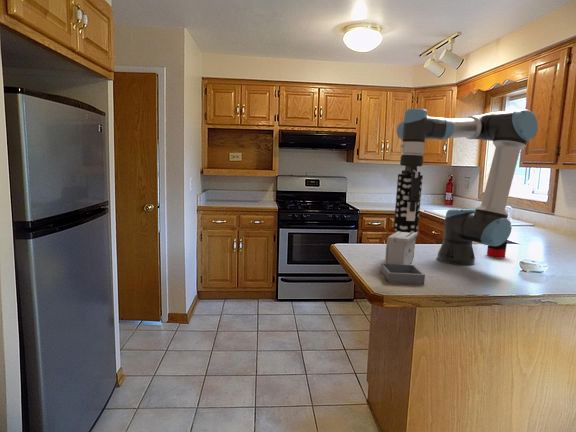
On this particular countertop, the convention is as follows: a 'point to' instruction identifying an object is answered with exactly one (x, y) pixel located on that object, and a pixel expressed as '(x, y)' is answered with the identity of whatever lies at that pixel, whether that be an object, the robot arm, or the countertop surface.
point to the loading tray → (402, 274)
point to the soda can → (497, 250)
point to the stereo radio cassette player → (400, 248)
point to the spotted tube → (405, 205)
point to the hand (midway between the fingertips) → (406, 218)
